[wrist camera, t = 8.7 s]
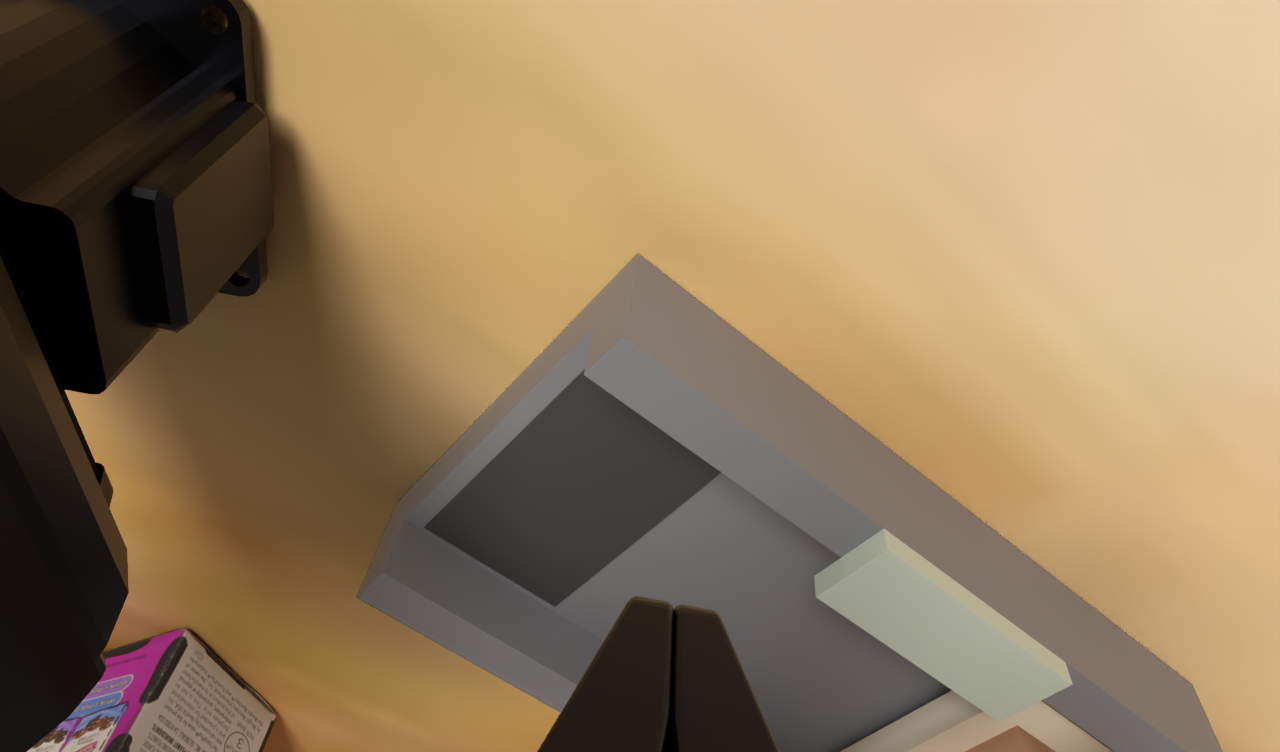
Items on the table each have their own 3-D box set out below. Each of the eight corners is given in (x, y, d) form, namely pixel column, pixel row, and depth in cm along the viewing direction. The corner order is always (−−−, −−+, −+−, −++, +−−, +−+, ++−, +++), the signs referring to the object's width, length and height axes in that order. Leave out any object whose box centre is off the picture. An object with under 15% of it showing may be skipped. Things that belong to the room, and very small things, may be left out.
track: (395, 504, 25) (347, 617, 22) (637, 253, 20) (619, 354, 17) (912, 818, 32) (931, 940, 29) (1192, 684, 27) (1250, 813, 24)
